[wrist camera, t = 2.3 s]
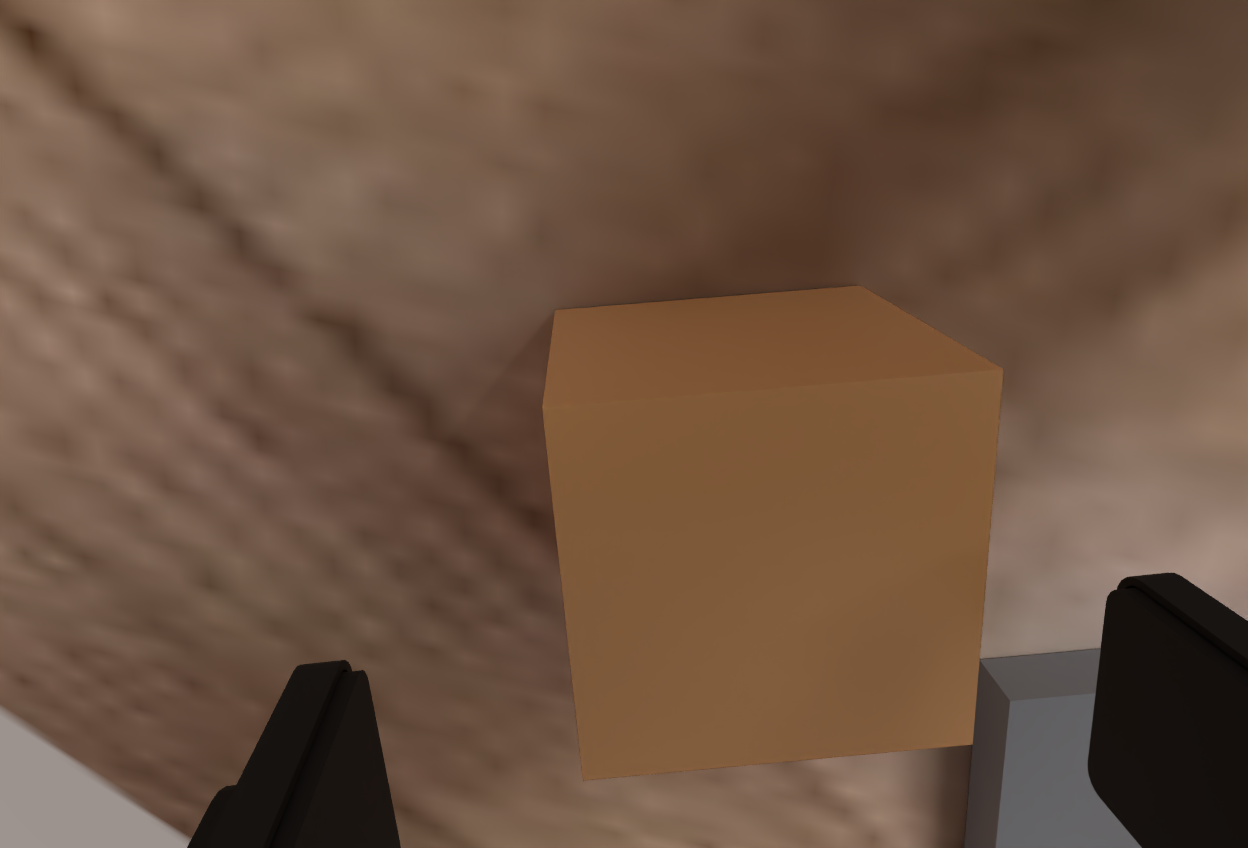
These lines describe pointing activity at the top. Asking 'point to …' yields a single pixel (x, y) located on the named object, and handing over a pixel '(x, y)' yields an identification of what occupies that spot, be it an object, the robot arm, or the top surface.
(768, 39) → the top surface
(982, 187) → the top surface
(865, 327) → the tan wooden cube
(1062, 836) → the plate
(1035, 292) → the top surface
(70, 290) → the top surface
